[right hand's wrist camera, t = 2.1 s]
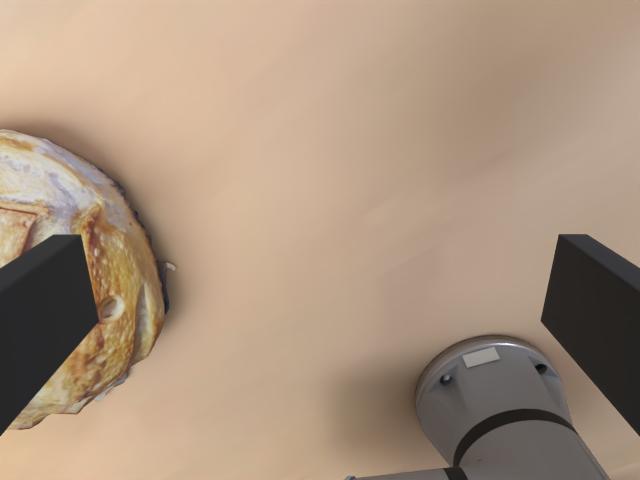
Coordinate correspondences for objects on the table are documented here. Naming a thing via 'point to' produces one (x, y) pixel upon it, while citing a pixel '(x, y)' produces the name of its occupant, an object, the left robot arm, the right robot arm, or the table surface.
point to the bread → (102, 259)
